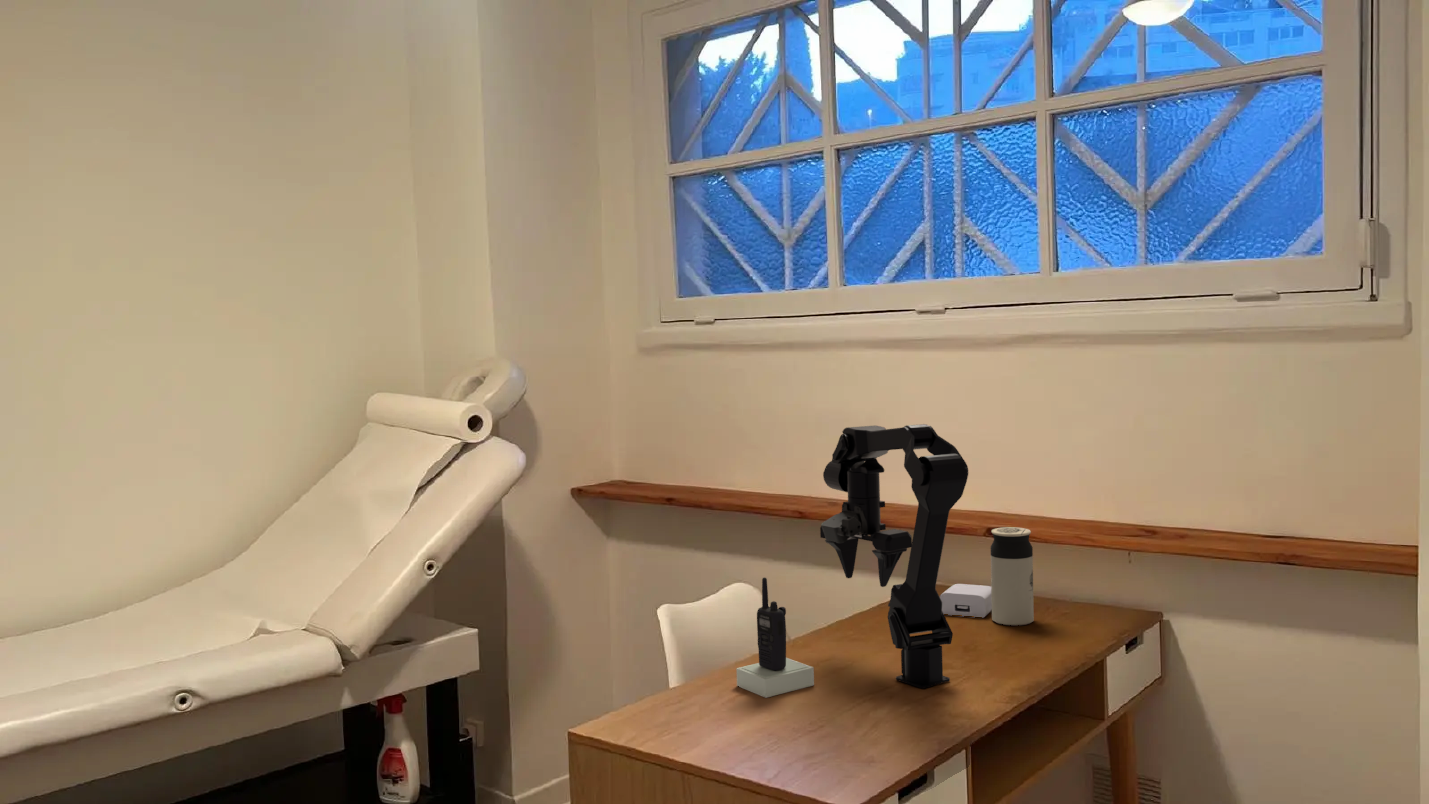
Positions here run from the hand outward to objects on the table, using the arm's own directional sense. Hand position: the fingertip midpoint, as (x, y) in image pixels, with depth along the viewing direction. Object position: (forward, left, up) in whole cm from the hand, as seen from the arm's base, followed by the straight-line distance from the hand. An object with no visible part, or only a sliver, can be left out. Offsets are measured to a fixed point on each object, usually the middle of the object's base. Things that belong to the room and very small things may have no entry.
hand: (865, 582), depth 208 cm
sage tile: (-4, +24, -13) cm, 28 cm away
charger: (+11, -38, -14) cm, 42 cm away
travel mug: (-2, -36, -13) cm, 38 cm away
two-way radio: (-4, +24, -10) cm, 26 cm away
